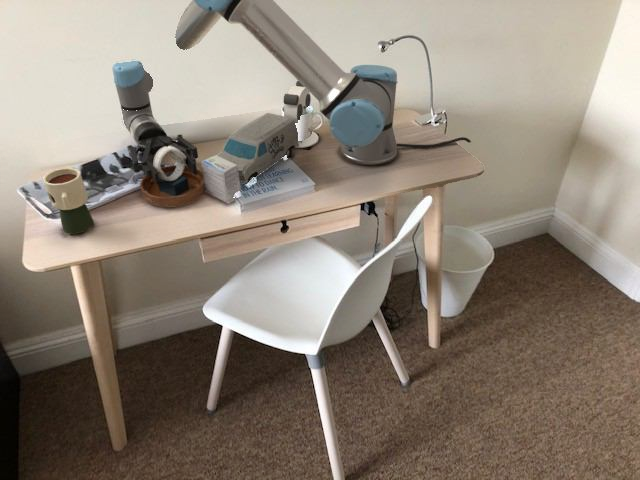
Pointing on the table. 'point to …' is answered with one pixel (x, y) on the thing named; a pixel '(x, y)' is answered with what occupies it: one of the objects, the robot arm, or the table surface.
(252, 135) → the toy car
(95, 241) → the table surface
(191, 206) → the table surface
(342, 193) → the table surface
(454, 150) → the table surface
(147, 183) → the bowl
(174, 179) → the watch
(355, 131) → the robot arm
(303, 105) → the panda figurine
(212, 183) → the medicine box
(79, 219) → the character mug
